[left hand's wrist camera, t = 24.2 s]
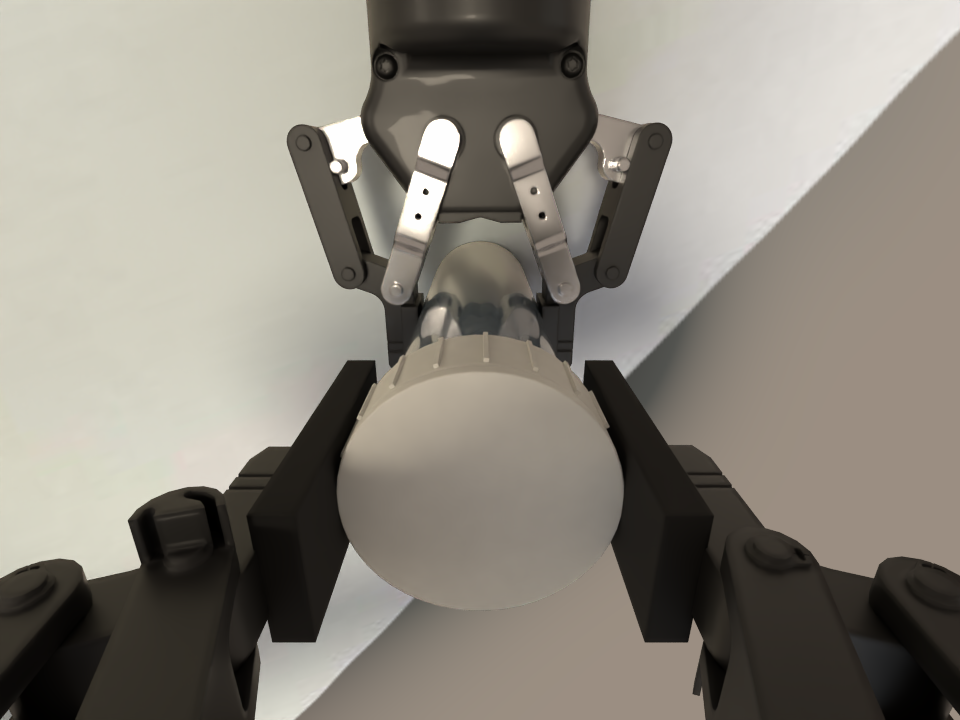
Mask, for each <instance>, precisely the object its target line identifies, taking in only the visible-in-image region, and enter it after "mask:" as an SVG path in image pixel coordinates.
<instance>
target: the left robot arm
mask: <svg viewBox="0 0 960 720" xmlns="http://www.w3.org/2000/svg"><path fill="white" fill-rule="evenodd" d="M374 383H375V384H377V377H376V365H375V360H348V361H347V362H346V364H345V365H344V367H343V368H342V370H341V371H340V373H339V374H338V376H337V378H336V379H335V381H334V382H333V384H332V385H331V387H330V388H329V390H328V391H327V393H326V394H325V396H324V397H323V399H322V400H321V402H320V404H319V405H318V407H317V408H316V410H315V411H314V413H313V414H312V416H311V417H310V419H309V420H308V422H307V423H306V425H305V426H304V428H303V429H302V431H301V433H300V434H299V436H298V437H297V439H296V440H295V442H294V443H293V445H292V446H291V447H268V448H266V449H265V450H263V451H262V452H260V453H259V454H257V455H256V456H254V457H253V458H251V459H250V460H249V461H248V462H247V464H246V465H245V466H244V468H243V469H242V470H241V472H240V473H239V476H238V477H236V478H235V480H234V481H233V482H232V483H231V485H230V486H229V490H226V491H225V493H224V494H222V493H221V492H219V491H218V490H217V489H214V488H209V487H204V486H201V487H186V488H182V489H178V490H174V491H170V492H167V493H165V494H163V495H161V496H158V497H156V498H154V499H151V500H150V501H149V502H147V503H146V504H144V505H143V506H141V507H140V508H138V509H137V510H136V511H135V512H134V514H133V515H132V516H131V517H130V519H129V520H128V523H129V526H130V529H131V533H132V536H133V539H134V542H135V545H136V549H137V552H138V555H139V558H140V561H141V566H140V568H139V569H135V570H132V571H128V572H123V573H119V574H114V575H110V576H105V577H101V578H96V579H92V580H87V579H86V576H85V574H84V571H83V568H82V566H80V565H79V564H78V563H77V562H75V561H74V560H66V559H54V560H48V561H41V562H38V563H35V564H31V565H29V566H25V567H23V568H20V569H17V570H16V571H14V572H12V573H10V574H8V575H6V576H4V577H2V578H1V579H0V719H1V718H2V717H3V716H4V714H5V713H6V712H7V711H8V709H9V710H10V712H11V714H12V717H11V718H10V719H9V720H254V719H255V710H256V701H257V691H258V682H259V672H260V656H259V650H258V646H257V641H258V639H259V637H260V635H261V632H262V630H263V628H264V626H265V624H266V622H267V619H268V624H269V629H270V633H271V638H272V642H316V639H317V636H318V633H319V630H320V628H321V625H322V622H323V619H324V616H325V613H326V610H327V607H328V604H329V601H330V598H331V595H332V592H333V589H334V586H335V583H336V580H337V577H338V575H339V572H340V569H341V566H342V563H343V560H344V557H345V554H346V551H347V548H348V545H349V542H350V541H349V539H348V537H347V535H346V532H345V530H344V528H343V525H342V522H341V519H340V515H339V510H338V502H337V494H336V488H337V475H338V471H339V466H340V462H341V459H342V458H341V457H340V455H341V452H342V450H343V448H344V446H345V444H346V441H347V439H348V437H349V435H350V433H351V431H352V429H353V427H354V424H355V422H356V420H357V416H358V414H359V412H360V410H361V408H362V406H363V404H364V401H365V399H366V397H367V395H368V393H369V391H370V389H371V387H372V385H373V384H374ZM583 385H584V386H585V387H586V389H587V390H588V392H589V391H592V392H593V394H594V396H595V398H596V400H597V402H598V404H599V406H600V408H601V410H602V412H603V414H604V416H605V418H606V421H607V423H608V425H609V428H607V432H608V434H609V436H610V438H611V440H612V442H613V444H614V447H615V449H616V451H617V454H618V457H619V460H620V463H621V466H622V472H623V478H624V498H623V506H622V513H621V518H620V521H619V524H618V527H617V530H616V532H615V534H614V536H613V538H612V540H611V544H612V547H613V550H614V553H615V556H616V559H617V562H618V565H619V568H620V571H621V574H622V576H623V580H624V582H625V585H626V588H627V591H628V594H629V597H630V600H631V603H632V606H633V609H634V612H635V615H636V618H637V621H638V624H639V627H640V630H641V632H642V635H643V638H644V641H645V642H688V640H689V635H690V630H691V625H692V620H693V618H694V620H695V623H696V625H697V627H698V629H699V631H700V633H701V635H702V638H703V640H704V641H703V646H702V650H701V655H700V659H699V664H698V668H697V672H696V677H695V681H694V688H693V694H694V695H698V696H700V692H701V687H702V690H703V699H704V709H705V718H706V720H953V718H952V717H951V716H950V714H949V713H950V711H951V709H952V707H953V708H954V709H955V710H956V711H957V712H958V714H959V715H960V576H959V575H957V574H956V573H954V572H952V571H950V570H948V569H946V568H944V567H942V566H939V565H937V564H933V563H931V562H927V561H924V560H921V559H915V558H908V557H894V558H887V559H886V560H884V561H883V562H882V563H881V564H879V567H878V570H877V572H876V575H875V578H869V577H865V576H860V575H856V574H851V573H847V572H842V571H838V570H833V569H829V568H826V567H823V566H820V565H819V563H818V562H817V560H816V559H815V558H814V556H813V555H812V553H811V552H810V551H809V550H808V549H806V548H805V547H804V546H803V545H801V544H800V543H799V542H798V541H796V540H794V539H792V538H790V537H788V536H786V535H784V534H782V533H780V532H776V531H773V530H769V529H766V528H764V526H763V525H762V524H761V522H760V521H759V520H758V518H757V517H756V516H755V515H754V513H753V512H752V511H751V509H750V508H749V507H748V505H747V504H746V503H745V502H744V500H743V499H742V498H741V496H740V495H739V494H738V492H737V491H736V490H735V489H734V488H732V485H731V483H730V482H729V481H728V480H727V478H726V477H725V476H724V475H722V472H721V470H720V469H719V468H718V467H717V465H716V464H715V463H714V461H713V460H712V459H711V458H710V457H709V456H707V455H706V454H704V453H703V452H701V451H700V450H698V449H697V448H695V447H694V446H692V445H668V444H667V443H666V441H665V440H664V438H663V437H662V435H661V434H660V432H659V431H658V429H657V427H656V426H655V424H654V423H653V421H652V420H651V418H650V417H649V415H648V414H647V412H646V411H645V409H644V408H643V406H642V405H641V403H640V402H639V400H638V399H637V397H636V395H635V394H634V392H633V391H632V389H631V388H630V386H629V385H628V383H627V382H626V380H625V379H624V377H623V376H622V374H621V372H620V371H619V369H618V368H617V366H616V365H615V363H614V362H613V360H585V369H584V381H583Z"/></svg>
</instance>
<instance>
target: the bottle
mask: <svg viewBox="0 0 960 720" xmlns="http://www.w3.org/2000/svg"><path fill="white" fill-rule="evenodd" d="M483 332H488V335H495V336H502V337H509V338H513V339H516V340H520V341H524V342H526V341H527V340H529V341H532V344H533V345H534V346H536V347H538V348H541V349H543V350H544V351H546V352H548V353H549V354H551V355H553V356H555V357H556V358H557V356H556V353H555V351H554V348H553V345H552V343H551V340H550V338H549V335H548V333H547V330H546V327H545V325H544V322H543V320H542V317H541V315H540V312H539V309H538V307H537V304H536V302H535V299H534V296H533V294H532V291H531V289H530V286H529V284H528V281H527V278H526V276H525V273H524V271H523V269H522V266H521V265H520V263H519V261H518V260H517V259H516V258H515V256H514V255H513V254H512V253H511V252H509V251H508V250H507V249H505V248H503V247H501V246H500V245H497V244H494V243H490V242H483V241H477V242H470V243H466V244H463V245H461V246H459V247H457V248H455V249H454V250H452V251H451V252H450V253H449V254H447V255H446V257H445V258H444V259H443V260H442V262H441V263H440V265H439V267H438V269H437V271H436V274H435V276H434V279H433V282H432V284H431V287H430V289H429V292H428V295H427V297H426V300H425V302H424V305H423V308H422V310H421V313H420V315H419V318H418V321H417V323H416V326H415V328H414V331H413V334H412V336H411V339H410V341H409V344H408V347H407V349H406V352H405V354H404V356H405V357H406V356H408V355H409V354H411V353H413V352H415V351H417V350H418V349H420V348H422V347H424V346H427V345H429V344H432V343H435V342H437V341H438V339H439V338H440V337H444V339H448V338H453V337H457V336H466V335H483ZM557 359H558V358H557Z"/></svg>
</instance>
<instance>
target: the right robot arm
mask: <svg viewBox="0 0 960 720" xmlns="http://www.w3.org/2000/svg"><path fill="white" fill-rule="evenodd" d="M590 3H591V0H367V14H368V28H369V41H370V55H371V82H370V88H369V91H368V94H367V97H366V99H365V101H364V103H363V106H362V110H361V116H358V117H354V118H350V119H347V120H343V121H340V122H336V123H332V124H329V125H325V126H321V127H314V126H309V125H303V124H301V125H296V126H294V127H293V128H292V129H291V130H290V131H289V133H288V136H287V146H288V149H289V152H290V155H291V157H292V160H293V163H294V166H295V169H296V172H297V174H298V177H299V180H300V183H301V186H302V189H303V191H304V194H305V197H306V200H307V203H308V206H309V208H310V211H311V214H312V217H313V220H314V223H315V225H316V228H317V231H318V234H319V237H320V240H321V242H322V245H323V248H324V251H325V254H326V257H327V259H328V262H329V265H330V268H331V271H332V274H333V276H334V279H335V281H336V282H337V283H338V285H340V286H341V287H343V288H345V289H355V288H357V289H360V290H363V291H366V292H369V293H372V294H374V295H376V296H377V297H378V298H379V299H380V300H381V301H382V303H383V305H384V308H385V317H386V330H387V341H388V356H389V365H390V367H391V368H392V367H394V366H395V365H396V364H397V363H398V361H399V358H400V357H401V356H402V355H404V354H405V352H406V349H407V347H408V344H409V341H410V339H411V336H412V334H413V331H414V328H415V326H416V323H417V321H418V318H419V315H420V313H421V310H422V308H423V305H424V296H423V293H418V280H419V277H420V274H421V271H422V268H423V265H424V262H425V259H426V256H427V253H428V249H429V246H430V244H431V241H432V238H433V235H434V232H435V229H436V226H437V223H438V220H439V223H461V222H464V221H468V220H471V219H475V218H479V217H482V218H486V219H489V220H493V221H497V222H500V223H522V222H523V225H524V228H525V230H526V233H527V236H528V239H529V241H530V244H531V247H532V250H533V253H534V256H535V258H536V261H537V264H538V267H539V270H540V273H541V276H542V293H537V296H536V304H537V307H538V309H539V312H540V315H541V317H542V320H543V322H544V325H545V327H546V330H547V333H548V335H549V338H550V340H551V343H552V345H553V348H554V351H555V353H556V356H557V358H558V359H559V360H560V361H561V362H562V363H563V362H564V361H566V362H568V364H569V366H571V364H572V349H573V336H574V320H575V307H576V304H577V302H578V300H579V299H580V298H581V297H582V296H583V295H584V294H586V293H588V292H591V291H593V290H596V289H599V288H602V287H606V288H615V287H618V286H620V285H621V284H622V283H623V282H624V281H625V279H626V277H627V275H628V272H629V269H630V266H631V263H632V260H633V257H634V254H635V251H636V248H637V245H638V242H639V239H640V236H641V233H642V230H643V227H644V225H645V222H646V219H647V216H648V213H649V210H650V207H651V204H652V201H653V198H654V195H655V192H656V189H657V186H658V183H659V180H660V177H661V174H662V171H663V168H664V165H665V162H666V159H667V156H668V154H669V151H670V148H671V144H672V134H671V131H670V129H669V128H668V127H667V126H666V125H664V124H662V123H647V124H642V125H640V124H636V123H632V122H628V121H624V120H620V119H617V118H613V117H609V116H605V115H601V114H598V109H597V105H596V102H595V100H594V98H593V96H592V94H591V91H590V88H589V84H588V78H587V53H588V36H589V19H590ZM589 143H591V144H592V145H594V147H595V148H596V150H597V152H598V164H597V167H598V172H599V174H600V175H601V177H603V178H604V179H606V180H608V184H607V188H606V191H605V194H604V197H603V201H602V204H601V207H600V211H599V214H598V217H597V220H596V224H595V227H594V230H593V234H592V237H591V240H590V244H589V247H588V250H587V253H585V254H582V255H580V256H577V257H574V258H572V257H571V254H570V251H569V248H568V245H567V238H566V234H565V230H564V227H563V224H562V221H561V218H560V214H559V211H558V208H557V205H556V202H555V199H554V195H553V192H554V191H555V189H556V188H557V186H558V185H559V184H560V182H561V181H562V180H563V178H564V177H565V175H566V174H567V173H568V171H569V170H570V169H571V167H572V166H573V164H574V163H575V162H576V160H577V159H578V158H579V156H580V155H581V154H582V152H583V151H584V149H585V148H586V147H587V145H588V144H589ZM369 144H370V145H371V147H372V148H373V149H374V151H375V152H376V153H377V155H378V156H379V157H380V159H381V160H382V161H383V163H384V164H385V165H386V167H387V168H388V169H389V171H390V172H391V173H392V175H393V176H394V177H395V179H396V180H397V181H398V183H399V184H400V185H401V187H402V188H403V189H404V190H405V192H406V193H407V196H406V199H405V203H404V206H403V209H402V213H401V216H400V220H399V223H398V226H397V230H396V233H395V237H394V244H393V248H392V251H391V255H390V258H389V259H386V258H383V257H380V256H377V255H374V252H373V249H372V246H371V243H370V240H369V237H368V234H367V230H366V227H365V224H364V221H363V218H362V215H361V212H360V208H359V205H358V202H357V199H356V196H355V193H354V190H353V186H352V183H351V182H354V181H356V180H357V179H358V178H359V177H360V175H361V173H362V162H361V156H362V152H363V150H364V149H365V148H366V147H367V146H368V145H369Z"/></svg>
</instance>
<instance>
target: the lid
mask: <svg viewBox="0 0 960 720" xmlns="http://www.w3.org/2000/svg"><path fill="white" fill-rule="evenodd" d="M607 428H609V425H608V423H607V421H606V418H605V416H604V414H603V412H602V410H601V408H600V406H599V404H598V402H597V400H596V398H595V396H594V394H593V392H592V391H589V392H588V390H587V389H586V387H585V386H584V385H583V383H582V382H581V381H580V379H579V378H578V377H577V376H576V375H575V374H574V373H573V372H572V371H571V368H570V366H569V364H568V362H566V361H564V362H563V363H562V362H561V361H560V360H559V359H557V358H556V357H555V356H553V355H551V354H549V353H548V352H546V351H544V350H543V349H541V348H538V347H536V346H534V345H533V344H532V341H529V340H527V341H526V342H524V341H520V340H516V339H513V338H509V337H502V336H495V335H488V332H483V335H466V336H457V337H453V338H448V339H444V337H440V338H439V339H438V341H437V342H435V343H432V344H429V345H427V346H424V347H422V348H420V349H418V350H417V351H415V352H413V353H411V354H409V355H408V356H406V357H405V356H404V355H402V356H401V357H400V358H399V361H398V363H397V364H396V365H395V366H394V367H392V368H391V369H390V370H389V371H388V372H387V373H386V374H385V375H384V377H383V378H382V379H381V380H380V382H379V383H378V384H375V383H374V384H373V385H372V387H371V389H370V391H369V393H368V395H367V397H366V399H365V401H364V404H363V406H362V408H361V410H360V412H359V414H358V416H357V420H356V422H355V424H354V427H353V429H352V431H351V433H350V435H349V437H348V439H347V441H346V444H345V446H344V448H343V450H342V452H341V455H340V457H341V458H342V459H341V462H340V466H339V471H338V475H337V488H336V494H337V502H338V510H339V515H340V519H341V522H342V525H343V528H344V530H345V532H346V535H347V537H348V539H349V541H350V542H351V544H352V546H353V547H354V549H355V551H356V552H357V553H358V555H359V556H360V557H361V558H362V560H363V561H364V562H365V563H366V564H367V565H368V566H369V567H370V568H371V569H372V570H373V571H374V572H375V573H376V574H377V575H378V576H380V577H381V578H382V579H384V580H385V581H386V582H388V583H389V584H390V585H392V586H393V587H395V588H397V589H399V590H400V591H402V592H404V593H406V594H408V595H410V596H412V597H415V598H417V599H419V600H422V601H425V602H428V603H431V604H434V605H438V606H443V607H448V608H452V609H460V610H469V611H490V610H502V609H508V608H513V607H519V606H523V605H526V604H529V603H533V602H536V601H539V600H541V599H544V598H546V597H548V596H551V595H553V594H555V593H557V592H558V591H560V590H562V589H564V588H566V587H567V586H569V585H570V584H572V583H573V582H575V581H576V580H577V579H579V578H580V577H581V576H582V575H583V574H585V573H586V572H587V571H588V570H589V569H590V568H591V567H592V566H593V565H594V564H595V563H596V562H597V560H598V559H599V558H600V557H601V556H602V554H603V553H604V551H605V550H606V548H607V547H608V545H609V544H610V542H611V540H612V538H613V536H614V534H615V532H616V530H617V527H618V524H619V521H620V518H621V513H622V506H623V498H624V478H623V472H622V466H621V463H620V460H619V457H618V454H617V451H616V449H615V447H614V444H613V442H612V440H611V438H610V436H609V434H608V432H607Z"/></svg>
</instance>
